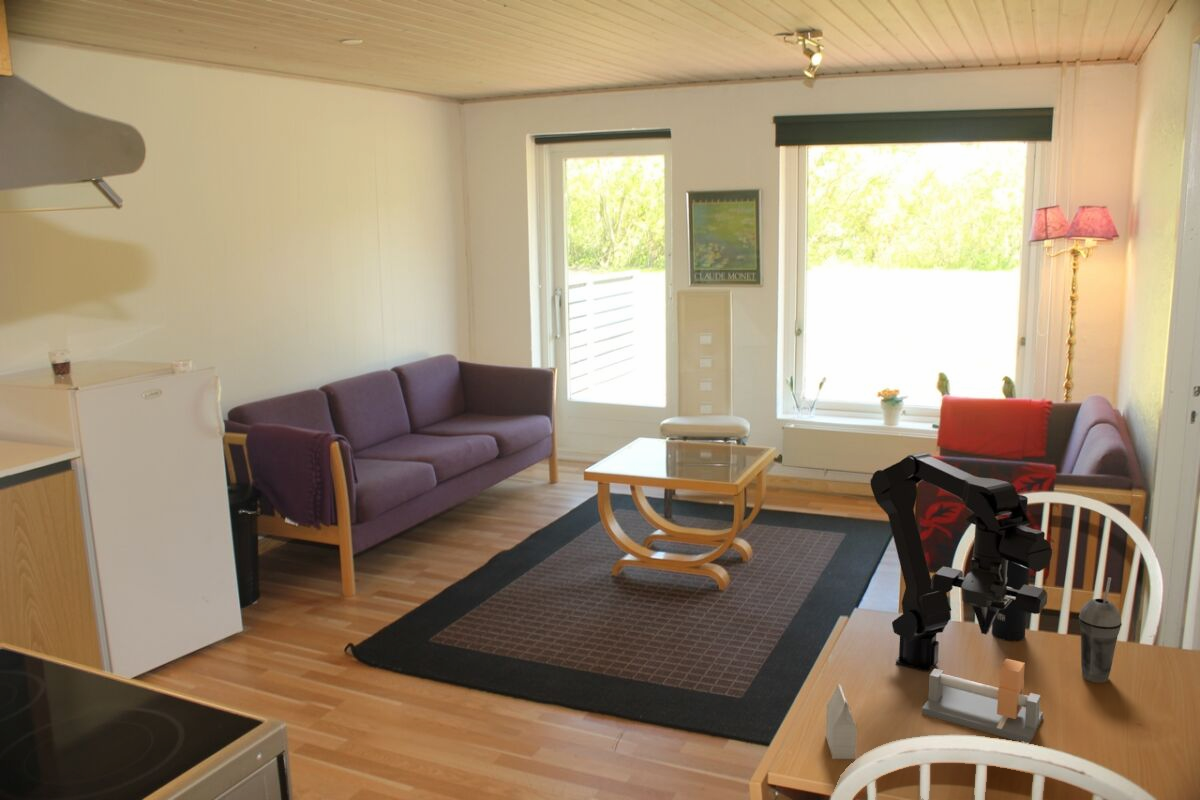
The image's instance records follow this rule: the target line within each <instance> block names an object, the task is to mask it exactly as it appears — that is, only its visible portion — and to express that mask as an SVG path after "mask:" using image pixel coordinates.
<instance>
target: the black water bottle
mask: <svg viewBox="0 0 1200 800" xmlns="http://www.w3.org/2000/svg"><path fill="white" fill-rule="evenodd" d="M1018 496H1019V498H1020V500H1021V503H1022V505H1023V507H1024V509H1025V511H1026V512H1028V502H1029V501H1028V500H1029V499H1028V497H1027V496H1026V495H1022V494H1018ZM1011 516H1013V515H1012V514H1009V517H1011ZM1030 572H1031V570H1030V569H1027V568H1025V567H1022V566H1020V565H1017V564H1015V563H1013V562H1010V561H1008V564H1007V576H1006V577H1007V583H1006V587H1010V588H1013V589H1017V590H1020V589H1021V588H1022V586H1023V585H1024V584H1025V585H1029V583H1030ZM1029 586H1030V585H1029ZM1027 613H1028V612H1025V611H1021V610H1019V609H1018V608H1017V607H1016V606H1015V600H1012V601H1011V602H1010V604H1009V605H1008V606H1007V607H1006V608H1005V609H1004V610H999V611H998V613H997V615H996V617H995V619H994V621H993V623H992V625H991V634H992V635H993V636H994V637H995V638H997V639H999V640H1002V641H1006V642H1007V641H1008V642H1020V641H1023V640H1025V637H1026V629H1027V628H1026V627H1027V626H1026V625H1027Z"/></svg>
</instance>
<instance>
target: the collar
mask: <svg viewBox="0 0 1200 800" xmlns="http://www.w3.org/2000/svg"><path fill="white" fill-rule="evenodd" d="M1025 664H1026V663H1025V662H1023V661H1018V660H1015V659H1014V660H1013V659H1010V658H1005V660H1004V662H1003V664H1002V665H1001V667H1000V673H999V686H998V688H999V690H998V705H997V714H998V715H1002V716H1005V717H1009V718H1013V719H1016V717H1017V715H1018V713H1019V711H1020V710H1021V708H1022V706H1019V705H1018V695H1019V693H1020V694H1024V686H1025V680H1024V679H1025V678H1024V677H1025V666H1026V665H1025Z"/></svg>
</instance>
